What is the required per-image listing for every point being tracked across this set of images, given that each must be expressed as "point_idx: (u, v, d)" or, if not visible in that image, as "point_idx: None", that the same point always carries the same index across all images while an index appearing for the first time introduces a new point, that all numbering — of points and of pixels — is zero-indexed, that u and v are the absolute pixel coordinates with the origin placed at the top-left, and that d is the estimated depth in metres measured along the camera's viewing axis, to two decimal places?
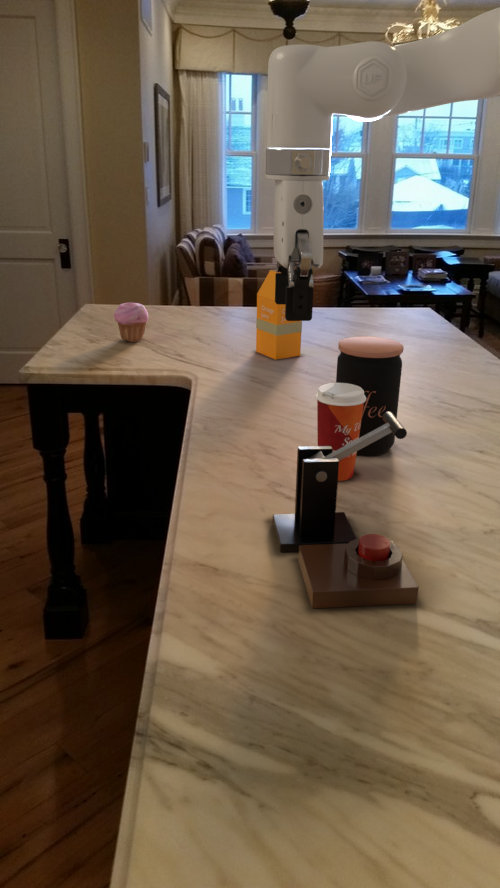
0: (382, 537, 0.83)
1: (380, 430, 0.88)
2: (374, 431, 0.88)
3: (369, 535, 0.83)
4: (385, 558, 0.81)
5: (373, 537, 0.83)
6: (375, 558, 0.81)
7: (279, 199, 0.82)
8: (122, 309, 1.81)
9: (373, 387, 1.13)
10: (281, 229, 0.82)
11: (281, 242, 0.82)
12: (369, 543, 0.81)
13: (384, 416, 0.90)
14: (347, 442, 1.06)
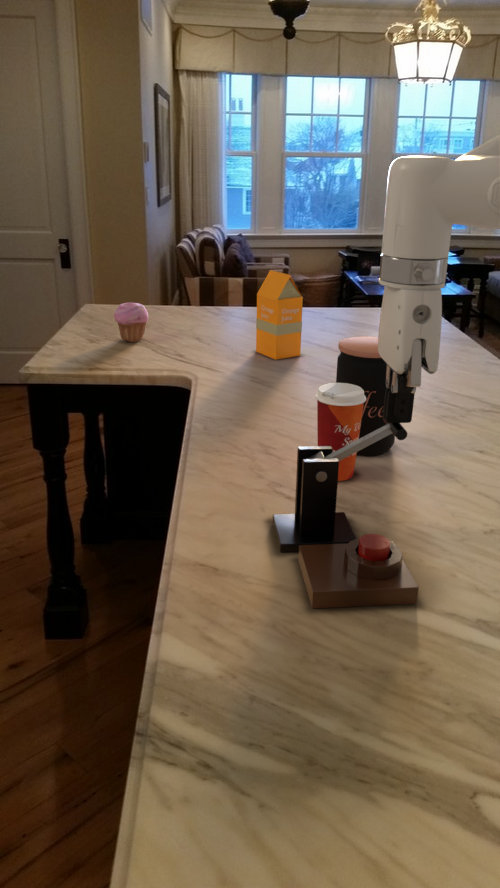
0: (382, 537, 0.83)
1: (380, 430, 0.88)
2: (375, 432, 0.89)
3: (369, 535, 0.83)
4: (385, 558, 0.81)
5: (373, 537, 0.83)
6: (375, 558, 0.81)
7: (395, 306, 0.80)
8: (122, 309, 1.81)
9: (373, 387, 1.13)
10: (396, 336, 0.80)
11: (396, 349, 0.81)
12: (369, 543, 0.81)
13: None
14: (347, 442, 1.06)
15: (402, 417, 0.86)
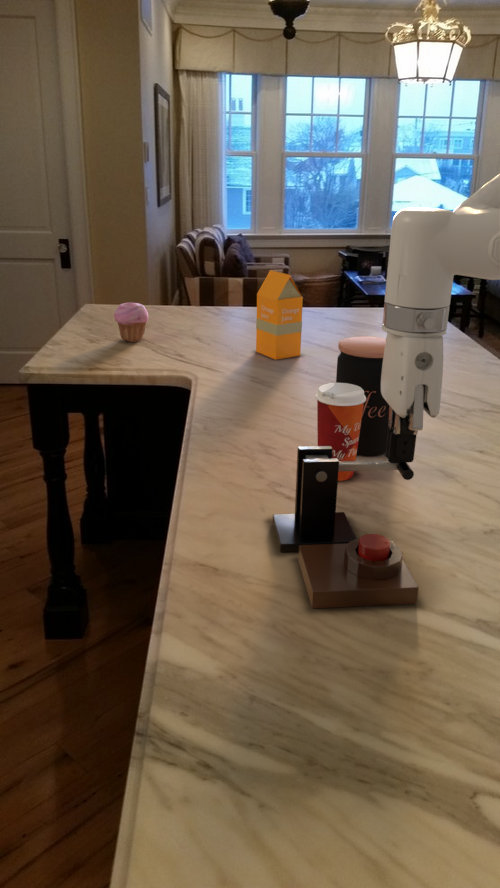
0: (382, 537, 0.83)
1: (388, 463, 0.90)
2: (382, 461, 0.90)
3: (369, 535, 0.83)
4: (385, 558, 0.81)
5: (373, 537, 0.83)
6: (375, 558, 0.81)
7: (398, 352, 0.82)
8: (122, 309, 1.81)
9: (373, 387, 1.13)
10: (399, 382, 0.82)
11: (399, 394, 0.83)
12: (369, 543, 0.81)
13: None
14: (347, 442, 1.06)
15: (404, 457, 0.89)
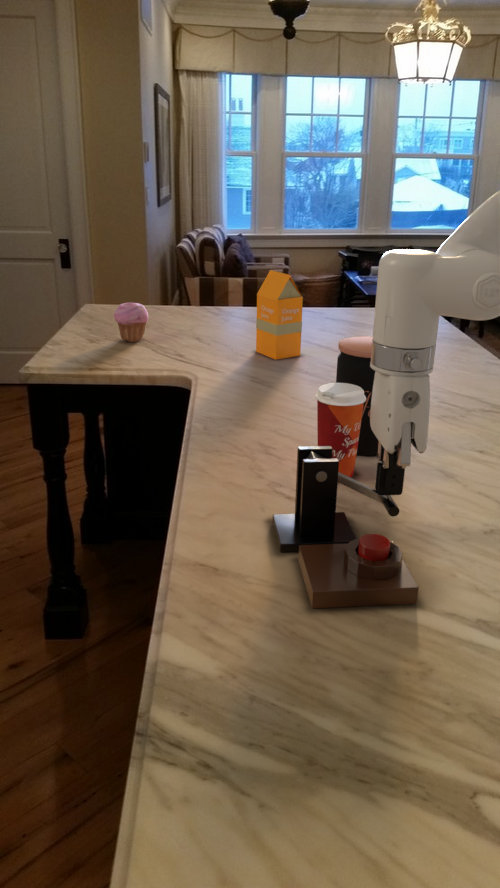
0: (382, 537, 0.83)
1: None
2: (373, 490, 0.92)
3: (369, 535, 0.83)
4: (385, 558, 0.81)
5: (373, 537, 0.83)
6: (375, 558, 0.81)
7: (385, 390, 0.84)
8: (122, 309, 1.81)
9: None
10: (387, 419, 0.84)
11: (386, 430, 0.85)
12: (369, 543, 0.81)
13: None
14: (347, 442, 1.06)
15: (393, 490, 0.90)
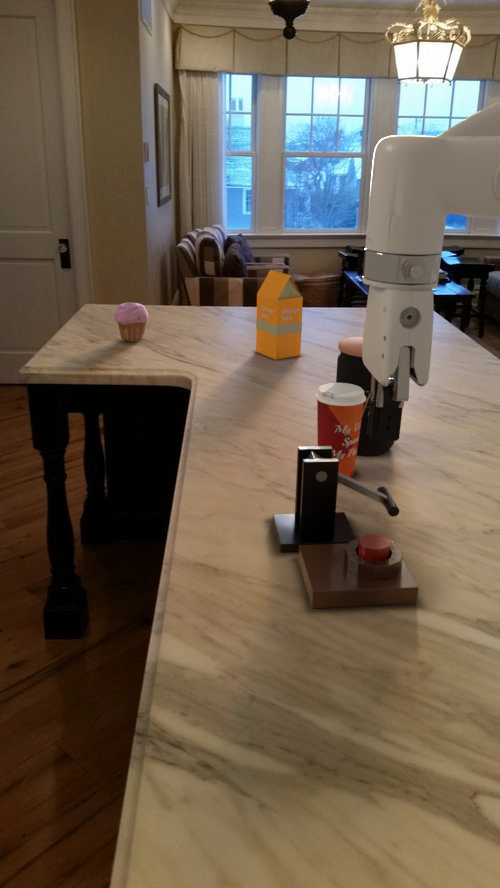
0: (382, 537, 0.83)
1: (378, 493, 0.92)
2: (373, 490, 0.92)
3: (369, 535, 0.83)
4: (385, 558, 0.81)
5: (373, 537, 0.83)
6: (375, 558, 0.81)
7: (380, 308, 0.70)
8: (122, 309, 1.81)
9: None
10: (381, 343, 0.70)
11: (381, 358, 0.70)
12: (369, 543, 0.81)
13: (382, 488, 0.94)
14: (347, 442, 1.06)
15: (388, 435, 0.76)
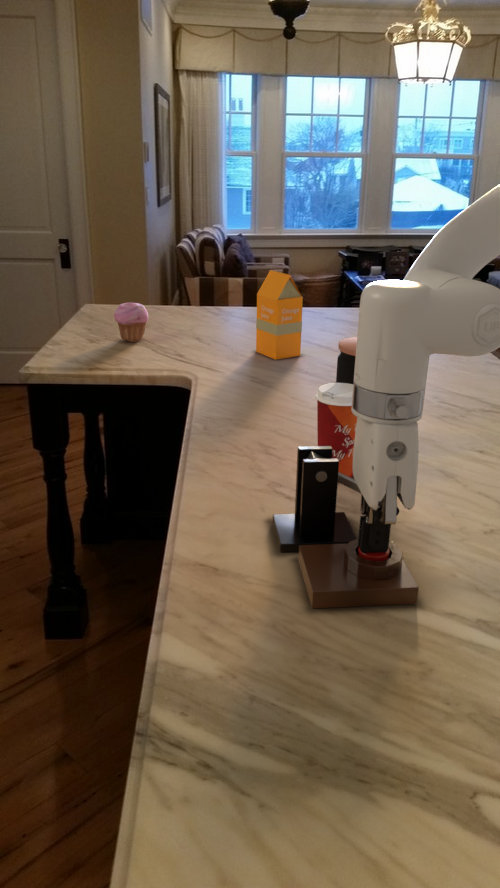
0: None
1: None
2: None
3: None
4: None
5: None
6: None
7: (368, 439, 0.74)
8: (122, 309, 1.81)
9: None
10: (370, 471, 0.74)
11: (369, 484, 0.75)
12: None
13: None
14: (347, 442, 1.06)
15: (378, 548, 0.80)
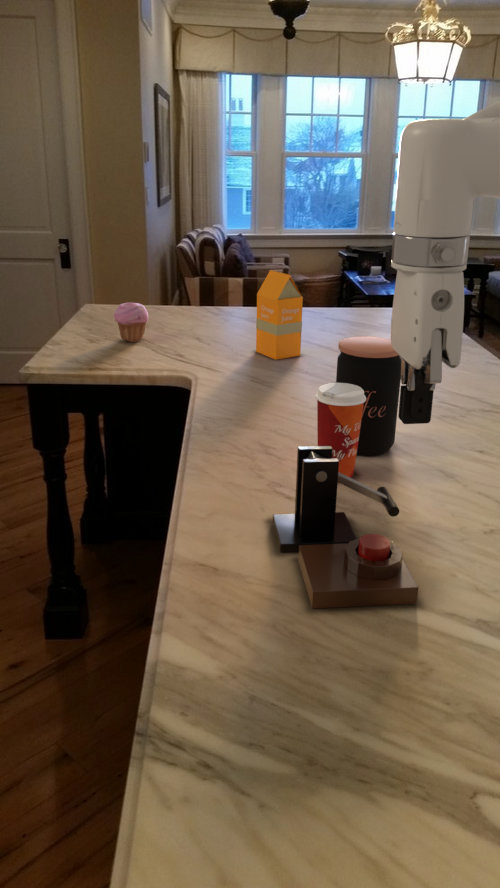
0: (382, 537, 0.83)
1: (378, 493, 0.92)
2: (373, 490, 0.92)
3: (369, 535, 0.83)
4: (385, 558, 0.81)
5: (373, 537, 0.83)
6: (375, 558, 0.81)
7: (410, 292, 0.71)
8: (122, 309, 1.81)
9: (373, 387, 1.13)
10: (413, 326, 0.71)
11: (413, 341, 0.71)
12: (369, 543, 0.81)
13: (382, 488, 0.94)
14: (347, 442, 1.06)
15: (420, 417, 0.77)
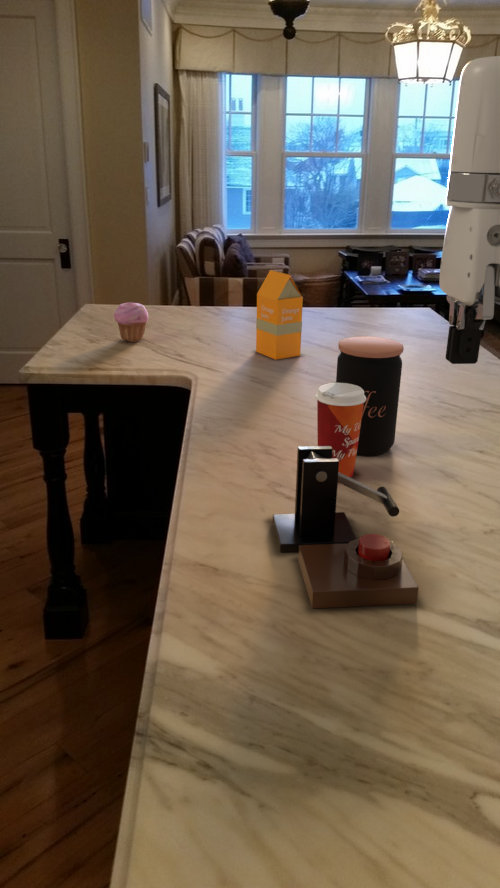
0: (382, 537, 0.83)
1: (378, 493, 0.92)
2: (373, 490, 0.92)
3: (369, 535, 0.83)
4: (385, 558, 0.81)
5: (373, 537, 0.83)
6: (375, 558, 0.81)
7: (465, 229, 0.73)
8: (122, 309, 1.81)
9: (373, 387, 1.13)
10: (467, 262, 0.73)
11: (466, 277, 0.73)
12: (369, 543, 0.81)
13: (382, 488, 0.94)
14: (347, 442, 1.06)
15: (468, 357, 0.79)
